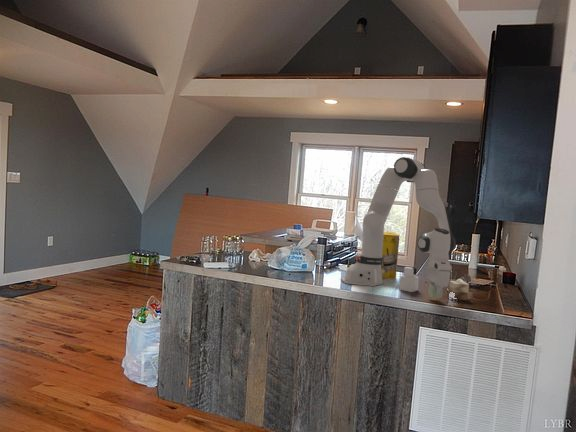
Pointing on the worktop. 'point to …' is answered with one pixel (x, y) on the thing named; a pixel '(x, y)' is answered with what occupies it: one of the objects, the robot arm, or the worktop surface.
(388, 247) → the packaging box
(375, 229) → the robot arm
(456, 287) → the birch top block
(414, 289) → the medicine bottle
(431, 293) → the sage cube
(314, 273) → the worktop surface
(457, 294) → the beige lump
